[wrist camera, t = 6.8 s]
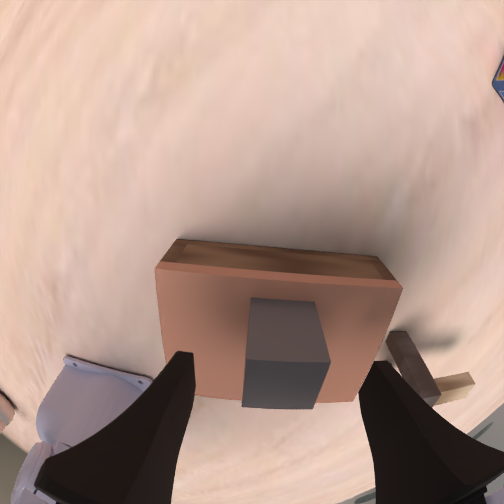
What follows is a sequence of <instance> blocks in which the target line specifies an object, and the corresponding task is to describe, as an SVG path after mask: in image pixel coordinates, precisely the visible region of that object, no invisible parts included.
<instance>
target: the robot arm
mask: <svg viewBox="0 0 504 504" xmlns="http://www.w3.org/2000/svg"><path fill="white" fill-rule="evenodd" d="M63 360H64V363H65V367H64V368H63V370H62V371H61V373H60V374H59V376H58V377H57V379H56V380H55V382H54V383H53V385H52V386H51V388H50V390H49V391H48V393H47V394H46V396H45V398H44V399H43V401H42V403H41V405H40V407H39V409H38V413H37V418H36V428H37V432H38V435H39V437H40V439H41V440H42V442H38V443H36V444H35V445H34V446H33V447H32V449H31V450H30V452H29V454H28V455H27V457H26V459H25V461H24V463H23V465H22V467H21V470H20V472H19V475H18V477H17V480H16V483H15V487H14V489H13V492H12V495H11V504H171V497H172V490H173V483H174V476H175V470H176V464H177V459H178V455H179V451H180V447H181V444H182V441H183V437H184V434H185V431H186V427H187V424H188V421H189V417H190V414H191V410H192V406H193V401H194V395H195V389H196V379H195V367H194V354H193V353H191V352H184V351H177V352H175V354H174V355H173V357H172V358H171V359H170V361H169V362H168V363H167V365H166V366H165V367H164V369H163V370H162V371H161V372H160V374H159V375H158V376H157V377H156V378H155V380H154V381H153V382H152V380H151V379H150V378H147V377H143V376H138V375H134V374H130V373H125V372H121V371H117V370H113V369H109V368H106V367H102V366H98V365H95V364H91V363H88V362H85V361H81V360H78V359H75V358H72V357H69V356H65V357H64V358H63ZM358 393H359V401H360V409H361V414H362V418H363V422H364V426H365V430H366V433H367V437H368V441H369V445H370V449H371V453H372V457H373V463H374V472H375V486H376V504H504V485H503V486H502V487H500V488H499V489H497V490H496V491H494V492H493V493H491V494H490V495H488V496H487V497H484V493H485V492H487V488H486V485H488V484H489V483H490V482H492V481H493V480H495V479H496V478H497V477H499V476H500V475H501V474H502V473H504V452H502V451H500V450H497V449H495V448H492V447H489V446H487V445H485V444H483V443H481V442H479V441H477V440H475V439H473V438H471V437H470V436H468V435H466V434H465V433H463V432H462V431H460V430H459V429H457V428H456V427H454V426H453V425H452V424H450V423H449V422H448V421H446V420H445V419H444V418H443V417H441V416H440V415H439V414H438V413H437V412H436V411H435V410H434V409H433V408H431V407H430V406H429V405H428V404H427V403H426V402H425V401H424V400H423V399H422V398H421V397H420V396H419V395H418V394H417V393H416V392H415V391H414V389H413V388H412V387H411V386H410V385H409V384H408V383H407V382H406V381H405V380H404V379H403V377H402V376H401V375H400V374H399V373H398V372H397V371H396V370H395V369H394V368H393V367H392V366H391V365H390V363H389V362H388V361H374V362H373V364H372V367H371V369H370V371H369V373H368V375H367V377H366V379H365V381H364V382H363V384H362V386H361V388H360V390H359V392H358Z"/></svg>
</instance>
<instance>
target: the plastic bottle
mask: <svg viewBox="0 0 504 504" xmlns="http://www.w3.org/2000/svg"><path fill="white" fill-rule="evenodd" d="M14 414H15V411H14V408H13V406H12V405H11V403H10V402H9V401H8V400H7V399H6V398H5V397H4V396H3V395H2V394H1V393H0V434H1V432H2V431H3V430H4V428H5V427H6V426H7V425H8V424H9V423H10V422H11V421H12V420H13V417H14Z"/></svg>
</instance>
